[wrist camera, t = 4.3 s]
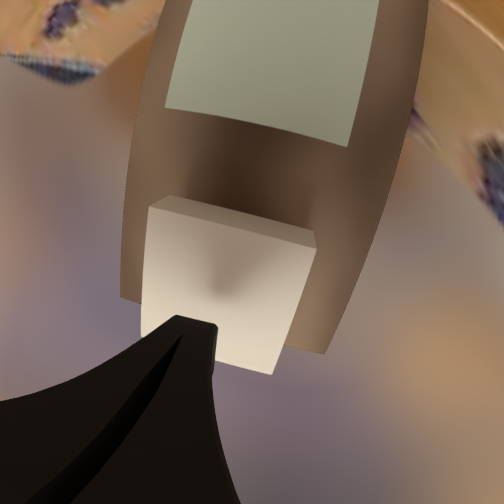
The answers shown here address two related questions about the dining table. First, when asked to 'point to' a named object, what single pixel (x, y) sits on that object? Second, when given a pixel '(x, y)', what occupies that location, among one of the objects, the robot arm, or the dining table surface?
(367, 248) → the board
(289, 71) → the key middle
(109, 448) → the robot arm
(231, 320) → the key
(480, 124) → the dining table surface
